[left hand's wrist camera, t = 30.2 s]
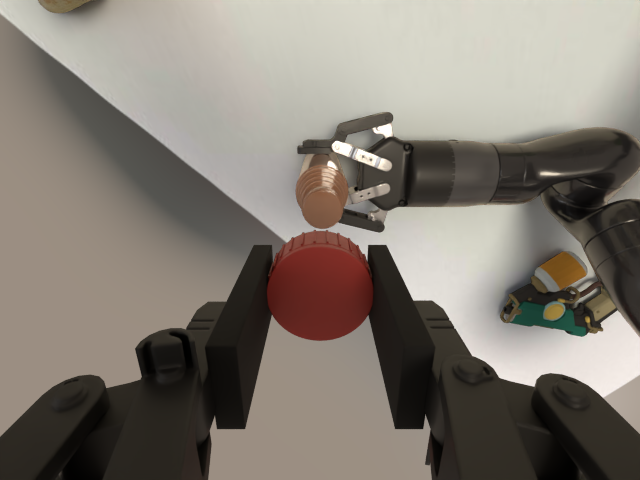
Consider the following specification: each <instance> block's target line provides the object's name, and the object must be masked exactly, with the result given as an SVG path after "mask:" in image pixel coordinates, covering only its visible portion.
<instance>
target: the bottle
mask: <svg viewBox="0 0 640 480" xmlns="http://www.w3.org/2000/svg"><path fill="white" fill-rule="evenodd" d="M348 191H349V190H348V184H347V181H346V178H345V176H344V173H343V170H342V167H341V165H340V162H339V159H338V157H337V155H336V154H335V152H331V154H307V155H306V157H305V159H304V162H303V165H302V169H301V172H300V175H299V178H298V181H297V185H296V198H297V202H298V204H299V206H300V208H301V209H302V213H303V216H304V218H305V220H306V221H307V222H308V223H309V224H310V225H311V226H313V227H315V228H320V229H325V228H329V227H332V226H334V225H335V224H336V223H337V222H338V221H339V220H340V219H341V216H342V214H343V208H344V206H345V205H346V202H347V199H348Z"/></svg>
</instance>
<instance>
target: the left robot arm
mask: <svg viewBox="0 0 640 480" xmlns="http://www.w3.org/2000/svg"><path fill="white" fill-rule="evenodd" d="M272 262H273V256H272V245H254V246H253V248H252V250H251V252H250V255H249V256H248V259H247V261H246V263H245V265H244V267H243V269H242V271H241V273H240V275H239V277H238V279H237V281H236V283H235V285H234V287H233V289H232V292H231V294H230V296H229V298H228V300H227V302H207V303H206V304H205V305H203V306H202V307H201V308H199V309H198V310H197V311H196V313H195V315H194V316H193V318H192V319H191V322H190V323H189V324H188V326H187V328H186V330H185V329H182V328H170V329H166V330H161V331H158V332H156V333H153V334H151V335H149V336H148V337H146V338H145V339H143V340H142V341H141V342H140V343H139V344H138V346H137V347H136V348H135V350H136V354H137V358H138V362H139V367H140V370H141V375H142V378H141V380H138V381H134V382H131V383H127V384H123V385H119V386H114V387H110V388H106V386H105V383H104V381H103V380H102V379H101V378H100V377H99V376H94V375H83V376H77V377H74V378H71V379H68V380H65V381H63V382H61V383H59V384H57V385H56V386H54V387H52V388H51V389H50V390H48V391H47V392H46V393H45V394H43V395H42V396H41V397H40V398H39V399H38V400H37V401H36V402H35V403H34V404H33V405H32V406H31V407H30V408H29V409H28V410H27V411H26V412H25V413H24V414H23V415H22V416H21V417H20V418H19V419H18V420H17V421H16V422H15V423H14V424H13V425H12V426H11V427H10V428H9V429H8V430H7V431H6V432H5V433H4V434H3V435H2V436H1V437H0V480H208V475H209V465H210V454H211V437H210V428H211V425H212V422H213V419H214V416H215V418H216V425H217V429H245V427H246V423H247V418H248V414H249V410H250V406H251V401H252V397H253V393H254V389H255V384H256V380H257V376H258V371H259V367H260V363H261V359H262V354H263V350H264V346H265V341H266V337H267V333H268V329H269V324H270V320H271V316H272V313H271V311H270V309H269V306H268V300H267V284H268V281H269V278H268V275H269V272H270V269H271V265H272ZM367 263H368V265H369V268H370V271H371V275H372V282H373V303H372V308H371V310H370V312H369V314H368V315H369V319H370V323H371V328H372V332H373V336H374V341H375V345H376V349H377V353H378V358H379V362H380V366H381V371H382V375H383V379H384V383H385V388H386V392H387V396H388V400H389V405H390V409H391V413H392V418H393V422H394V426H395V429H423V426H424V420H425V414H426V417H427V420H428V422H429V425H430V428H431V431H430V437H429V443H428V449H427V456H426V462H425V464H426V465H430V464H431V474H432V480H640V434H639V433H638V432H637V431H636V430H635V429H634V428H633V427H632V426H631V425H630V424H629V423H628V422H627V421H626V420H625V419H624V418H623V417H622V416H621V415H620V414H619V413H618V412H617V411H616V410H614V408H612V407H611V406H610V405H609V404H608V403H607V402H606V401H605V400H604V399H603V398H602V397H601V396H600V395H599V394H598V393H597V392H596V391H594V390H593V389H592V388H590V387H589V386H588V385H586V384H584V383H582V382H580V381H578V380H576V379H574V378H571V377H568V376H565V375H561V374H552V373H550V374H545V375H541V376H540V377H539V378H538V379H537V380H536V384H535V387H532V386H528V385H524V384H519V383H515V382H511V381H507V380H504V379H501V378H499V377H498V375H497V374H496V372H495V371H494V369H493V368H492V367H491V366H489V365H488V364H487V363H486V362H484V361H482V360H480V359H478V358H476V357H473V356H472V355H471V353H470V352H469V350H468V349H467V347H466V345H465V344H464V342H463V340H462V339H461V337H460V336H459V334H458V332H457V331H456V329H454V326H453V324H452V323H451V321H449V318H448V316H447V314H446V313H445V311H444V310H443V308H441V307H440V306H439V305H437V304H436V303H434V302H433V301H413V299H412V297H411V295H410V293H409V291H408V289H407V287H406V285H405V283H404V281H403V279H402V277H401V275H400V272H399V270H398V268H397V266H396V264H395V262H394V260H393V258H392V256H391V254H390V252H389V250H388V248H387V246H386V245H368V260H367Z"/></svg>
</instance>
